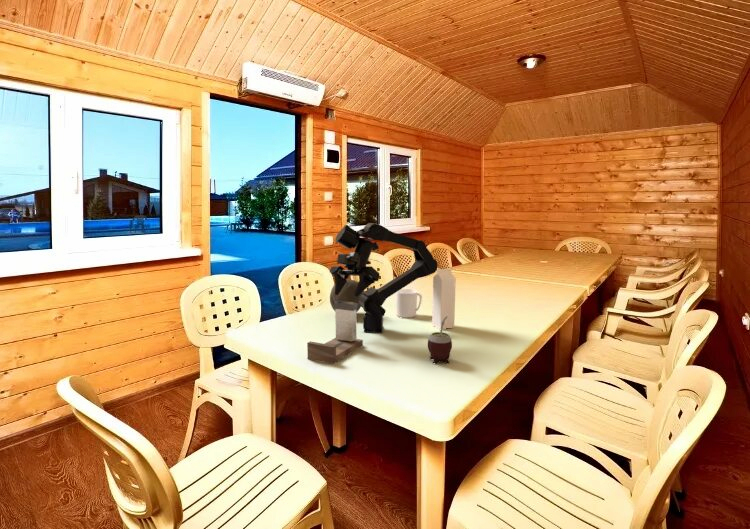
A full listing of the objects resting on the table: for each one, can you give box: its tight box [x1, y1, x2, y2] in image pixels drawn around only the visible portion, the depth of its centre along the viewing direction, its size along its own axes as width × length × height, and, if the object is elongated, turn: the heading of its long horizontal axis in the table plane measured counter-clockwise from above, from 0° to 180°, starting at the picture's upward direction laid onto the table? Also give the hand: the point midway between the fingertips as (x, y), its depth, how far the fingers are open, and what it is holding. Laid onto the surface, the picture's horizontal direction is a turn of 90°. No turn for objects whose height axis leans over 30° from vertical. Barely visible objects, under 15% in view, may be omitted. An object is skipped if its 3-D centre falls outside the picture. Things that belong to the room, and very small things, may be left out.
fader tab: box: [334, 301, 358, 342], centre depth 140 cm, size 3×7×12 cm, turn 63°
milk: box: [432, 268, 456, 330], centre depth 161 cm, size 6×6×22 cm
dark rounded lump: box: [329, 278, 365, 313], centre depth 178 cm, size 14×14×15 cm
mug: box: [395, 288, 423, 319], centre depth 178 cm, size 11×9×10 cm
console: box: [307, 337, 364, 365], centre depth 135 cm, size 18×9×5 cm, turn 153°
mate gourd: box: [427, 316, 453, 364], centre depth 127 cm, size 8×8×15 cm
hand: (345, 295), depth 146 cm, fingers open, 9 cm apart
